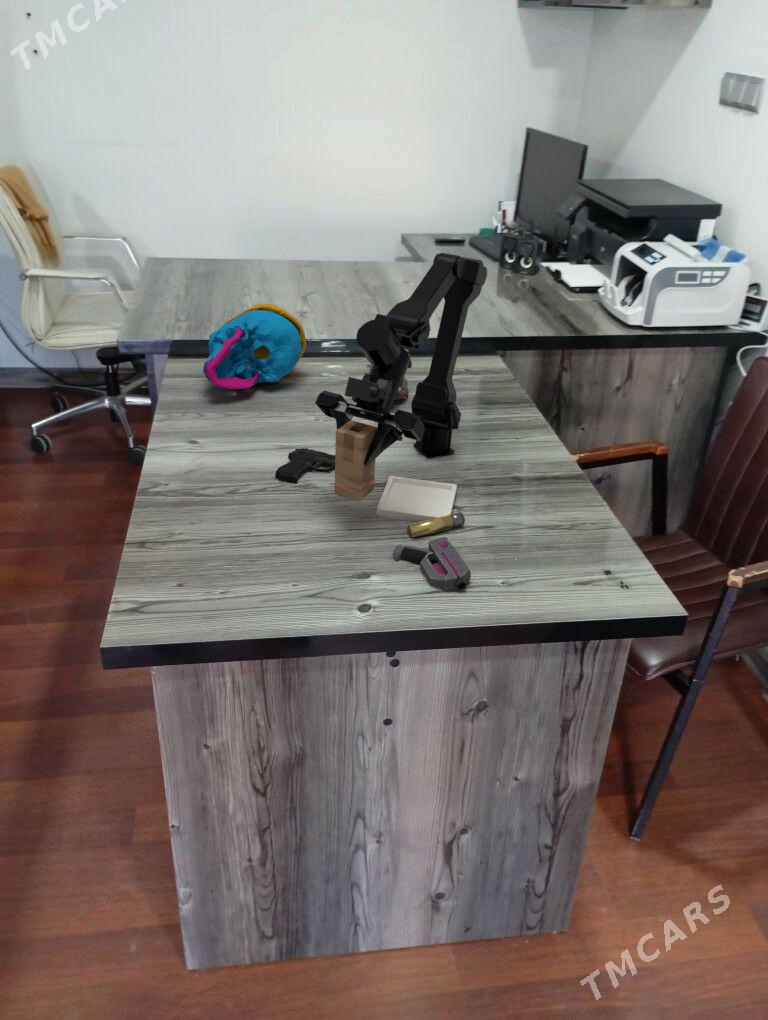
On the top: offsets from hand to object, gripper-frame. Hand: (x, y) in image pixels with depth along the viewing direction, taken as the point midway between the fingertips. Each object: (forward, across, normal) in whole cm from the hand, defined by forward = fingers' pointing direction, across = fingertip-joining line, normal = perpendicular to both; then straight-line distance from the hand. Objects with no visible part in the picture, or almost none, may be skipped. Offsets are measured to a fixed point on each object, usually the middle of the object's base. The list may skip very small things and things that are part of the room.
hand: (351, 461), depth 140 cm
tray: (0, +7, +19) cm, 20 cm away
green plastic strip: (+3, +45, +16) cm, 48 cm away
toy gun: (+13, +18, +6) cm, 23 cm away
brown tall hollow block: (+4, 0, +6) cm, 7 cm away
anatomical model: (-22, -51, +41) cm, 69 cm away
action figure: (-32, -23, +52) cm, 65 cm away
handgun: (-1, -14, +20) cm, 24 cm away
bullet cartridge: (+4, +14, +14) cm, 20 cm away
